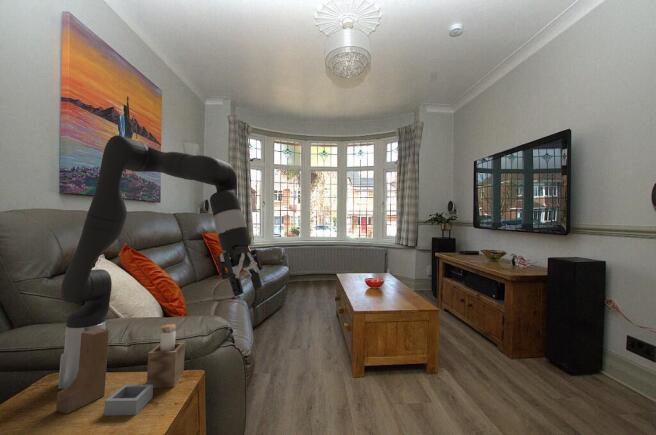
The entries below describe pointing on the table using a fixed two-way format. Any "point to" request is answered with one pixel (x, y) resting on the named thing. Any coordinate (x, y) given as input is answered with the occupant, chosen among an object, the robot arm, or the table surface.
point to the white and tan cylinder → (168, 337)
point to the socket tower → (165, 366)
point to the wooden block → (87, 372)
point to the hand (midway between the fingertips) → (249, 291)
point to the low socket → (128, 400)
